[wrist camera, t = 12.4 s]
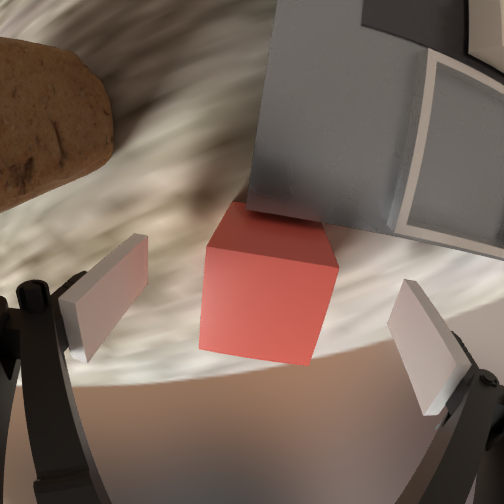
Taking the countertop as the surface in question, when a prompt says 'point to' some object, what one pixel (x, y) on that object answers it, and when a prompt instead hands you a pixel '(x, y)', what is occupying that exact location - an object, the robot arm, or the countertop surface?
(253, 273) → the coral toy cube
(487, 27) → the toggle
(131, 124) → the countertop surface
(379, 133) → the panel
